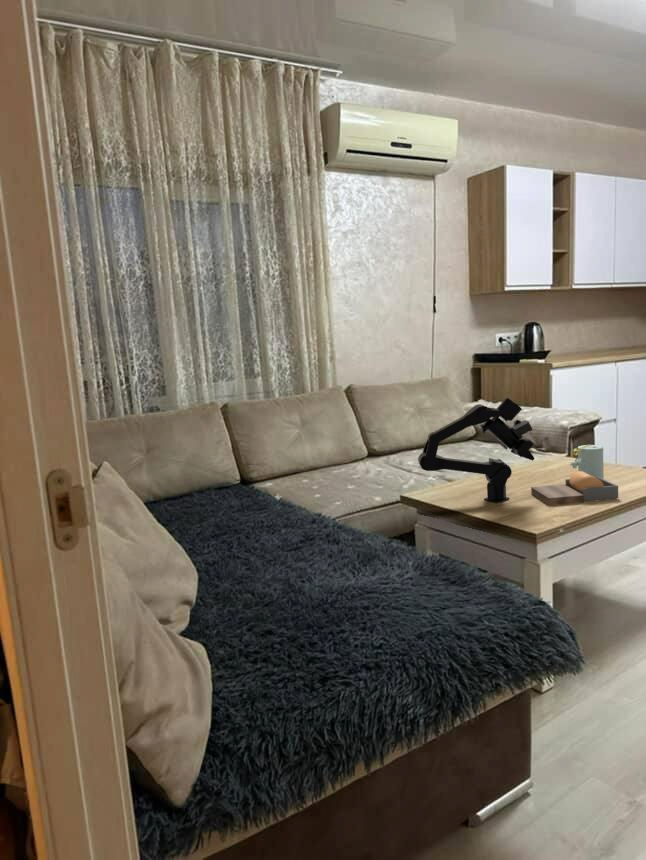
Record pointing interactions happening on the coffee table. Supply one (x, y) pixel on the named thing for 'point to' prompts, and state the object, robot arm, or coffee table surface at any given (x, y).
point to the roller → (584, 481)
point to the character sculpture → (589, 460)
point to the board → (557, 494)
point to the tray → (598, 491)
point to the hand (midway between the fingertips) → (533, 459)
